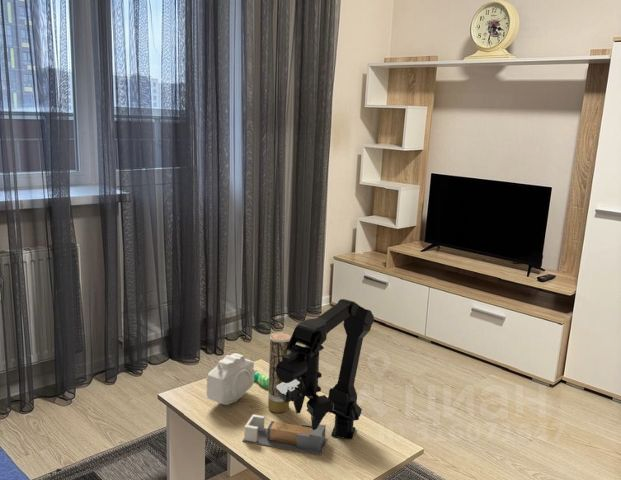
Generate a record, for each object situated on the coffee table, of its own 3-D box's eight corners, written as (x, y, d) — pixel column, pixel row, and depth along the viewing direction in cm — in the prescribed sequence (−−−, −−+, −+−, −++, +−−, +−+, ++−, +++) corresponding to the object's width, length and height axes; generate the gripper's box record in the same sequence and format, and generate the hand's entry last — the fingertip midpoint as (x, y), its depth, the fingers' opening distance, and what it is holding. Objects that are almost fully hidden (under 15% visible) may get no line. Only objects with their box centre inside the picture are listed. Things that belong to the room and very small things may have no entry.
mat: (251, 426, 180) (251, 425, 180) (326, 439, 175) (326, 438, 175) (242, 441, 172) (242, 440, 172) (320, 455, 167) (320, 454, 167)
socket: (252, 427, 179) (252, 414, 178) (264, 429, 178) (264, 416, 177) (244, 439, 172) (244, 426, 171) (256, 442, 171) (256, 428, 170)
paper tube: (286, 414, 188) (288, 341, 182) (265, 411, 189) (267, 339, 183) (291, 404, 194) (293, 333, 188) (271, 401, 195) (273, 331, 190)
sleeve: (301, 436, 175) (302, 421, 174) (324, 440, 174) (325, 425, 173) (296, 448, 169) (297, 432, 168) (320, 452, 168) (321, 436, 167)
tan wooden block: (271, 432, 176) (271, 420, 175) (320, 441, 173) (320, 429, 172) (267, 439, 172) (267, 427, 171) (317, 448, 169) (317, 436, 168)
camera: (201, 406, 190) (201, 361, 186) (236, 385, 205) (237, 343, 202) (227, 417, 185) (228, 370, 181) (261, 394, 200) (262, 351, 196)
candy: (281, 387, 204) (276, 380, 201) (274, 395, 202) (269, 387, 200) (259, 375, 212) (255, 368, 210) (253, 382, 211) (248, 375, 209)
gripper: (265, 360, 160) (264, 411, 164) (297, 390, 144) (295, 446, 148) (301, 352, 166) (299, 402, 169) (336, 381, 150) (333, 435, 154)
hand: (306, 421), depth 160 cm, fingers open, 9 cm apart
